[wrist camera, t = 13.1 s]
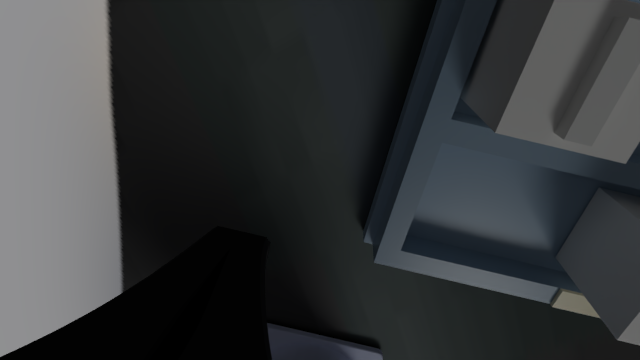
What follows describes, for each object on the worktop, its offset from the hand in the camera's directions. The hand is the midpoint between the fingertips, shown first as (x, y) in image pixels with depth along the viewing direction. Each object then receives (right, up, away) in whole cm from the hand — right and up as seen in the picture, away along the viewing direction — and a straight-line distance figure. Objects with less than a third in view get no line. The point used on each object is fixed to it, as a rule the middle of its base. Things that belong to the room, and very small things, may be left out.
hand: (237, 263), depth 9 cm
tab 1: (+10, +7, +5) cm, 13 cm away
